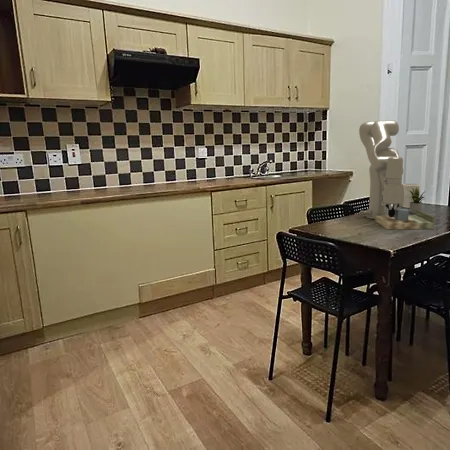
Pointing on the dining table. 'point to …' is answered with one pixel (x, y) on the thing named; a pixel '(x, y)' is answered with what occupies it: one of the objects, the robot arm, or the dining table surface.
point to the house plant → (415, 200)
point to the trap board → (408, 221)
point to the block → (401, 214)
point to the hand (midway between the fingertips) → (391, 216)
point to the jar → (409, 194)
